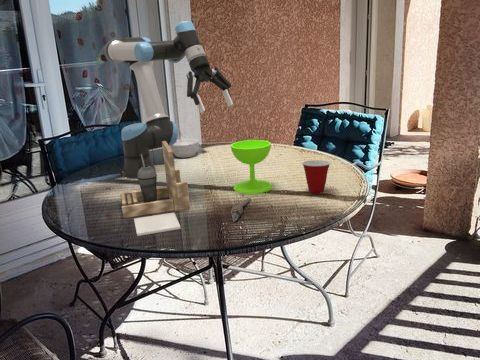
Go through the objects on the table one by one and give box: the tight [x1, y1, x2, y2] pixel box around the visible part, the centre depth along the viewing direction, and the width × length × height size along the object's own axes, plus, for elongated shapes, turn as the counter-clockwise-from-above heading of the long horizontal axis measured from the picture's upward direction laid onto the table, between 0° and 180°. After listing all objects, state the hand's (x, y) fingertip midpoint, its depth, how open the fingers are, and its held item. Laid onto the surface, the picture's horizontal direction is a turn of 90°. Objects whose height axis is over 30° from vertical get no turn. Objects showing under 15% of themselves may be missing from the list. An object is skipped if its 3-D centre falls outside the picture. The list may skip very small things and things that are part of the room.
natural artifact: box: [230, 197, 252, 223], centre depth 161 cm, size 4×23×4 cm
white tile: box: [133, 212, 182, 237], centre depth 154 cm, size 14×14×1 cm
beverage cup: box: [136, 154, 158, 203], centre depth 170 cm, size 7×7×20 cm
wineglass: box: [230, 139, 274, 195], centre depth 184 cm, size 16×16×18 cm
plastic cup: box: [301, 159, 332, 195], centre depth 175 cm, size 11×11×12 cm
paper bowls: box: [170, 138, 200, 159], centre depth 246 cm, size 15×15×8 cm
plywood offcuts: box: [121, 191, 139, 206], centre depth 170 cm, size 5×12×4 cm, turn 16°
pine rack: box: [119, 141, 191, 219], centre depth 170 cm, size 24×20×22 cm
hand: (217, 108), depth 180 cm, fingers open, 13 cm apart
